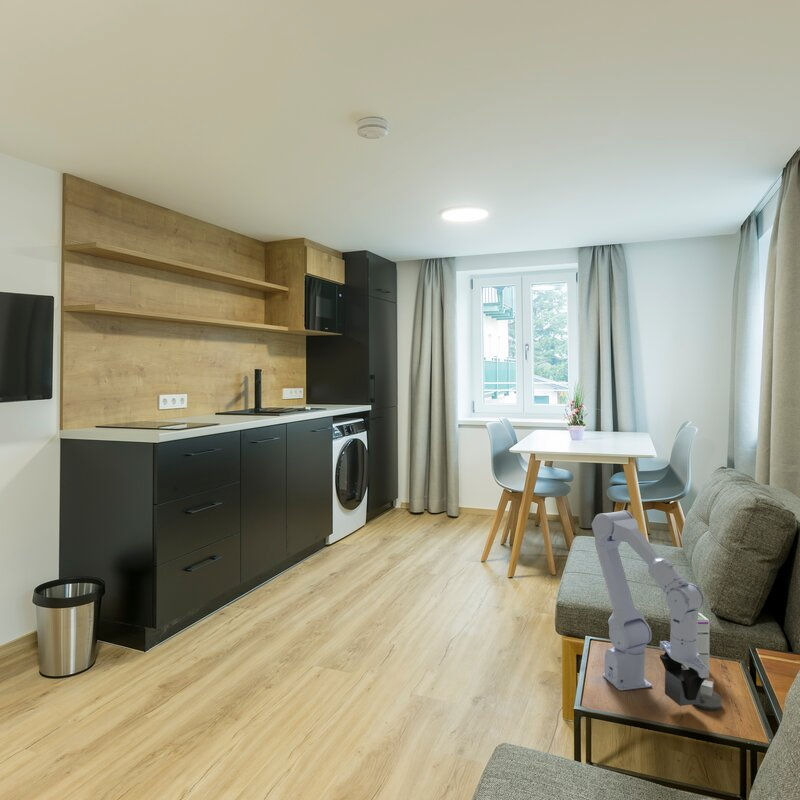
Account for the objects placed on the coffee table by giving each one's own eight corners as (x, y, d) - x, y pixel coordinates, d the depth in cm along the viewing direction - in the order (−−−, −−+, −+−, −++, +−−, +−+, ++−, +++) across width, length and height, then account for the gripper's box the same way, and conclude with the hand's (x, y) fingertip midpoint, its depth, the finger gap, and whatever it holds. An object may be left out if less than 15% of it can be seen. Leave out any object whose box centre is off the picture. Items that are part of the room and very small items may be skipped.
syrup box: (710, 672, 156) (711, 619, 155) (688, 672, 156) (689, 619, 155) (699, 662, 161) (700, 611, 161) (678, 662, 162) (679, 611, 161)
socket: (680, 706, 134) (680, 680, 134) (664, 693, 139) (665, 669, 139) (700, 703, 135) (700, 678, 135) (684, 691, 140) (684, 667, 140)
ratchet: (720, 714, 136) (720, 693, 136) (687, 705, 140) (688, 685, 140) (724, 687, 148) (724, 668, 148) (694, 679, 152) (694, 661, 152)
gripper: (721, 648, 130) (719, 707, 131) (677, 622, 145) (676, 675, 145) (694, 651, 129) (692, 711, 129) (652, 624, 143) (651, 678, 144)
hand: (682, 692), depth 137 cm, fingers closed on socket, 5 cm apart
